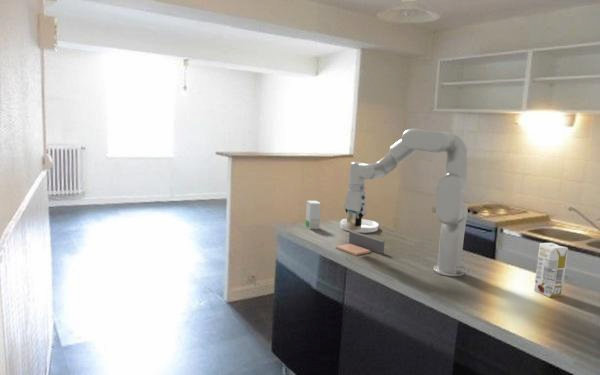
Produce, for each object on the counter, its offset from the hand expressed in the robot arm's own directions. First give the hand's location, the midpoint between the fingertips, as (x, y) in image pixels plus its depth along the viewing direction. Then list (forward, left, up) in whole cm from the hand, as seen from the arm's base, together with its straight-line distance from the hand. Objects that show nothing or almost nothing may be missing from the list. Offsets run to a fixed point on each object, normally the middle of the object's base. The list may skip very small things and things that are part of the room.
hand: (353, 224), depth 207 cm
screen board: (0, -9, -13) cm, 16 cm away
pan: (+31, -36, -14) cm, 49 cm away
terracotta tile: (0, 0, -13) cm, 13 cm away
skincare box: (+46, -12, -13) cm, 49 cm away
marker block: (0, 0, -3) cm, 3 cm away
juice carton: (-79, -26, -13) cm, 84 cm away
